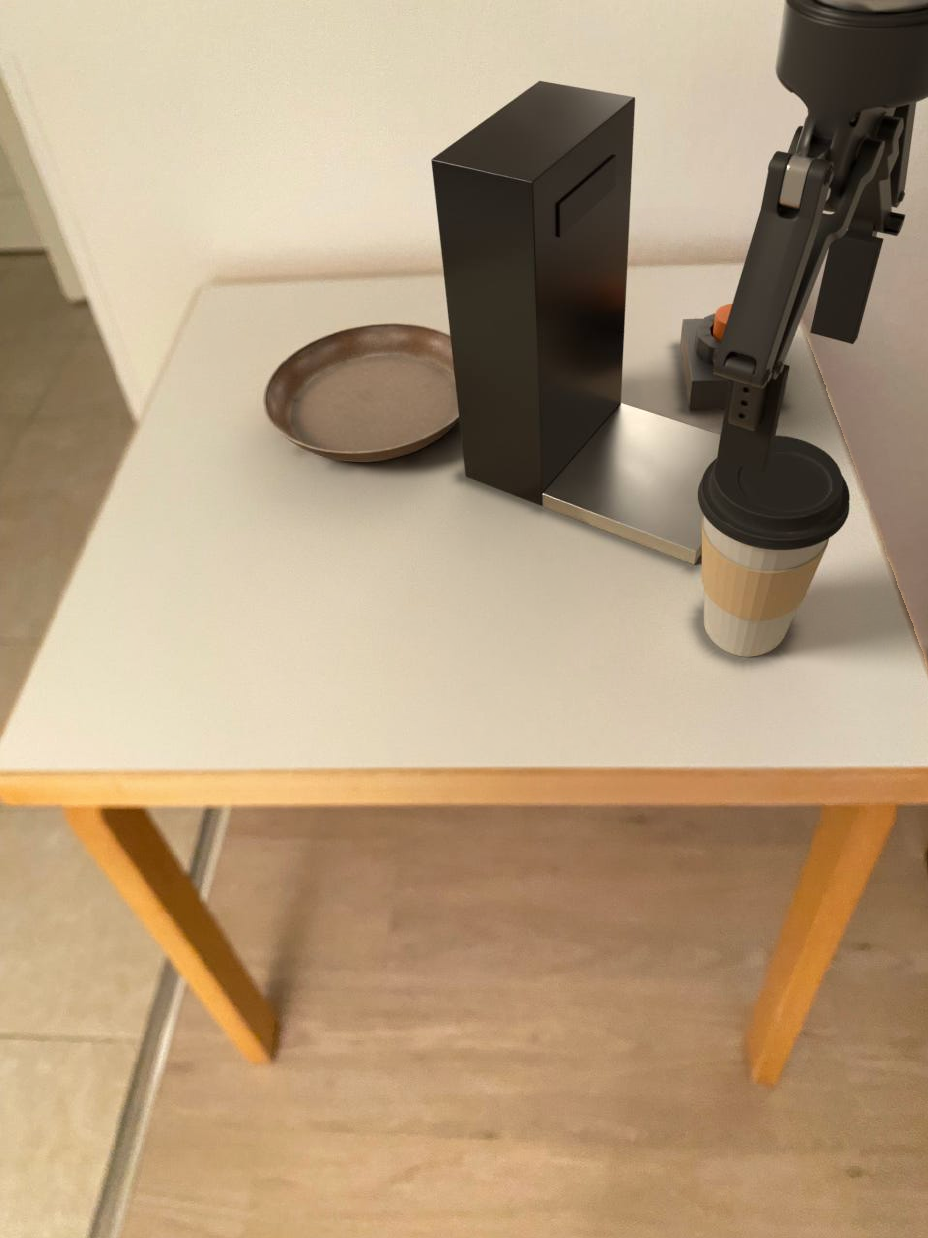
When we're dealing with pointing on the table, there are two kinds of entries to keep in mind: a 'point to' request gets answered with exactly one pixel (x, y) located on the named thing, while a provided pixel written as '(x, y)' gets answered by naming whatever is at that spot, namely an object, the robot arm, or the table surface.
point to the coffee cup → (765, 541)
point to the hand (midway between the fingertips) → (790, 395)
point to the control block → (701, 365)
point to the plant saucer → (366, 392)
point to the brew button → (721, 321)
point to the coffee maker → (558, 320)
